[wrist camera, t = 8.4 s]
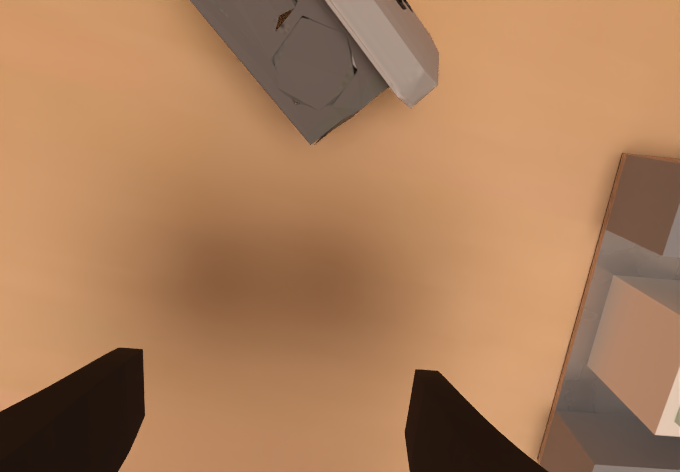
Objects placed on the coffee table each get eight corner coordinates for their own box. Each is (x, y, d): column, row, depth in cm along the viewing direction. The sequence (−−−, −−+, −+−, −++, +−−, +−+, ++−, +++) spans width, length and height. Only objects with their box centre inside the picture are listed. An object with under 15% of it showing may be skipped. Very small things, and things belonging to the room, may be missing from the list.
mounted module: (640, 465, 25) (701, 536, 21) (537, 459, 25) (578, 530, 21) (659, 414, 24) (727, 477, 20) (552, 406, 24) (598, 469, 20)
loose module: (661, 370, 23) (755, 446, 18) (587, 365, 23) (659, 440, 18) (692, 281, 22) (803, 336, 17) (613, 274, 21) (701, 328, 16)
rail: (674, 468, 25) (702, 498, 23) (537, 459, 25) (555, 489, 23) (790, 170, 20) (837, 177, 19) (622, 153, 20) (653, 158, 18)
